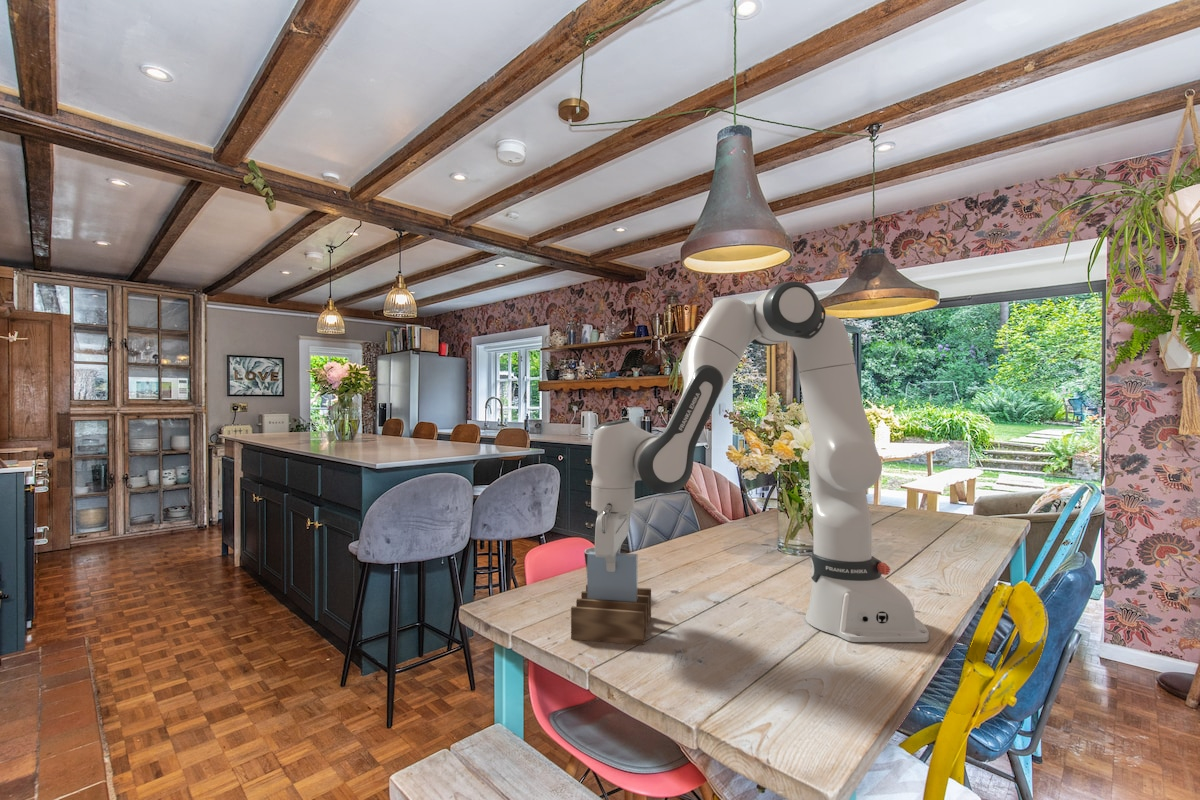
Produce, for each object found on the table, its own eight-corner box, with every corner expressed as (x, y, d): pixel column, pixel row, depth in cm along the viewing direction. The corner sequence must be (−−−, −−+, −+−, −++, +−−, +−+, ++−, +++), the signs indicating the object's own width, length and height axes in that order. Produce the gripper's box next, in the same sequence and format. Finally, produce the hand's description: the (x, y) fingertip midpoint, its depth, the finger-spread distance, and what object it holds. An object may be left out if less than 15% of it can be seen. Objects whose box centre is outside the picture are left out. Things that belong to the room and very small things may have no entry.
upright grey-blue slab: (637, 598, 112) (637, 554, 112) (636, 602, 110) (636, 556, 110) (589, 595, 114) (589, 551, 114) (587, 598, 112) (587, 554, 112)
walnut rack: (651, 616, 118) (651, 588, 118) (643, 645, 104) (643, 613, 104) (586, 612, 120) (586, 584, 120) (571, 638, 107) (571, 607, 107)
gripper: (620, 510, 101) (620, 585, 101) (635, 492, 122) (634, 555, 121) (586, 509, 103) (586, 583, 103) (606, 491, 123) (606, 554, 123)
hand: (612, 568), depth 112 cm, fingers closed on upright grey-blue slab, 2 cm apart
